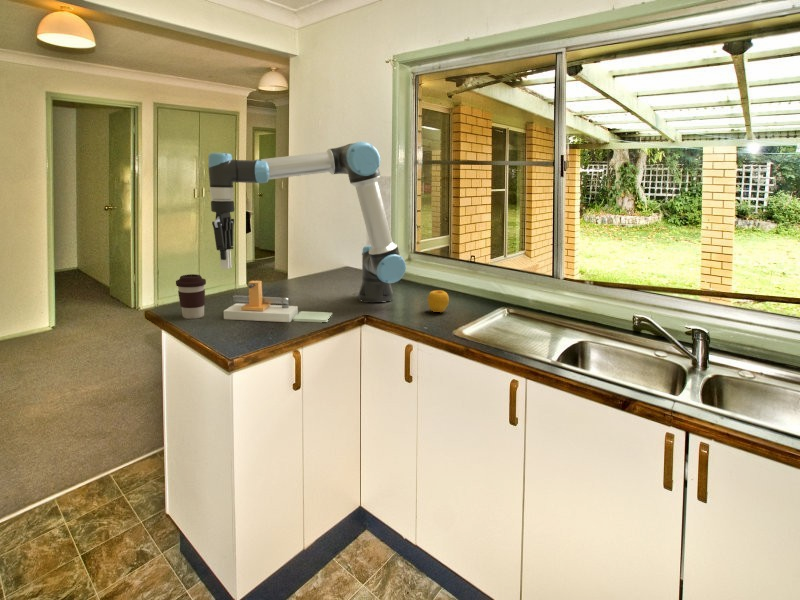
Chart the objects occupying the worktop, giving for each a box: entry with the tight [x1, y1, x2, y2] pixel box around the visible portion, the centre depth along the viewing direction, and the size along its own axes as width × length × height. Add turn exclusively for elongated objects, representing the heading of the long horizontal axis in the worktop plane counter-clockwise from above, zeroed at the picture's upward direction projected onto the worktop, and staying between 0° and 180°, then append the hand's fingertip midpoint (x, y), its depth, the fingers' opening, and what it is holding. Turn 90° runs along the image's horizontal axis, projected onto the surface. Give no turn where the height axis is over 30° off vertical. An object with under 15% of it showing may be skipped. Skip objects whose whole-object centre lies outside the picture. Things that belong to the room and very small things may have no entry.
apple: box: [427, 289, 450, 313], centre depth 196 cm, size 8×8×9 cm
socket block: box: [223, 302, 299, 323], centre depth 184 cm, size 24×11×4 cm, turn 86°
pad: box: [292, 310, 333, 323], centre depth 184 cm, size 12×10×1 cm
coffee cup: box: [175, 273, 207, 320], centre depth 181 cm, size 10×10×15 cm
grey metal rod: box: [232, 295, 290, 305], centre depth 186 cm, size 21×3×2 cm, turn 86°
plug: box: [241, 280, 271, 311], centre depth 183 cm, size 8×9×13 cm
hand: (226, 268), depth 177 cm, fingers closed
